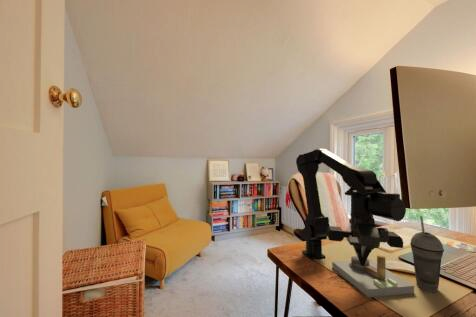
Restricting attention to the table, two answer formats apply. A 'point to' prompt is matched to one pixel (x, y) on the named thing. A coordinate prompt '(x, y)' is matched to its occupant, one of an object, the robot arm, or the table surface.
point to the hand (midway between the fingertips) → (361, 265)
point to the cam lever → (376, 272)
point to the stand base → (373, 280)
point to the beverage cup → (427, 259)
